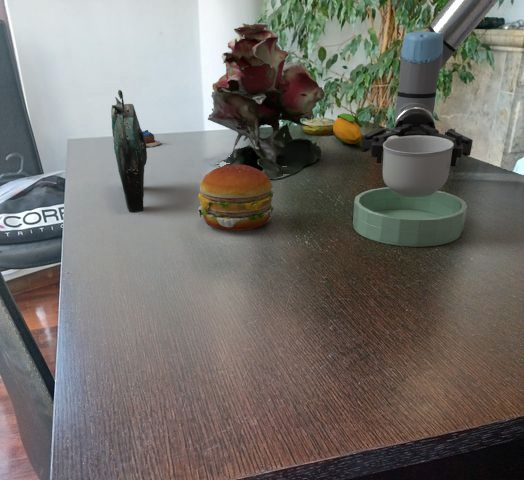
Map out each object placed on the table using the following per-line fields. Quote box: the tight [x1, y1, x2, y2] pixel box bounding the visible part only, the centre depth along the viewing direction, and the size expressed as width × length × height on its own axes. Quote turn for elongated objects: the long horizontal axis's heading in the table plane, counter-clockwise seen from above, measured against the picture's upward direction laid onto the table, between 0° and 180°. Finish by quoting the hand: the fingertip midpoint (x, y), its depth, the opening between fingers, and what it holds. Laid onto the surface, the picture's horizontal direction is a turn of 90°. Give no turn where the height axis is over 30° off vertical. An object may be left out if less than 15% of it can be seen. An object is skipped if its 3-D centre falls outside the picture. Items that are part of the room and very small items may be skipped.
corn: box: [332, 112, 364, 147], centre depth 155 cm, size 7×8×20 cm
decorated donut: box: [301, 117, 336, 136], centre depth 171 cm, size 10×11×4 cm
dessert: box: [142, 129, 162, 148], centre depth 159 cm, size 8×7×6 cm
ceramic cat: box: [110, 89, 148, 213], centre depth 111 cm, size 20×6×20 cm, turn 12°
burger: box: [197, 165, 275, 231], centre depth 100 cm, size 14×14×10 cm
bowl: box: [352, 186, 468, 248], centre depth 98 cm, size 19×19×4 cm
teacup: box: [382, 135, 454, 197], centre depth 93 cm, size 14×11×8 cm
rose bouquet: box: [207, 22, 326, 180], centre depth 133 cm, size 26×29×30 cm
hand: (416, 156), depth 89 cm, fingers closed on teacup, 11 cm apart
